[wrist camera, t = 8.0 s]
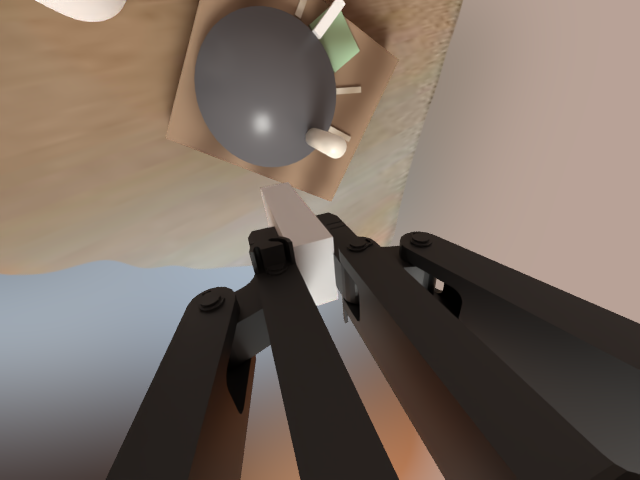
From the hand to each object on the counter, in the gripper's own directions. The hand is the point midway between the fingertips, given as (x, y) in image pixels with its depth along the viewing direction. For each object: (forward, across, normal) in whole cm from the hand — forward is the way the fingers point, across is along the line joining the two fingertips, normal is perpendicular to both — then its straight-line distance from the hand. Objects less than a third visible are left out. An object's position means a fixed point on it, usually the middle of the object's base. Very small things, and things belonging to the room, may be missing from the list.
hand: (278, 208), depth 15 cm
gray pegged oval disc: (+18, +5, +6) cm, 20 cm away
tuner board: (+22, +6, +5) cm, 23 cm away
